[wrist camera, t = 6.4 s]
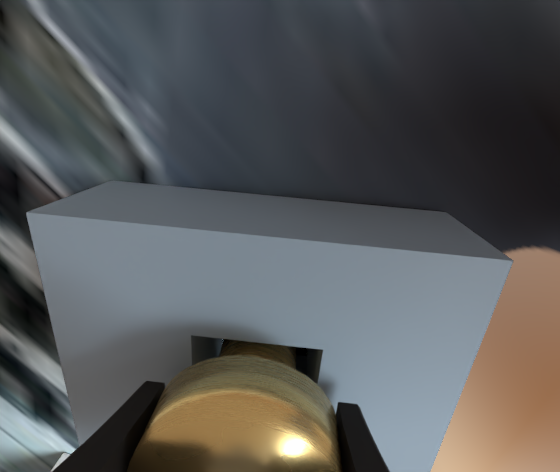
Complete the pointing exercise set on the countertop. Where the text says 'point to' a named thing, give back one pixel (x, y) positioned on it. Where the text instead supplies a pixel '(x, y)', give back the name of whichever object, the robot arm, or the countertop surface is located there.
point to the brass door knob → (241, 417)
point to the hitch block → (268, 299)
